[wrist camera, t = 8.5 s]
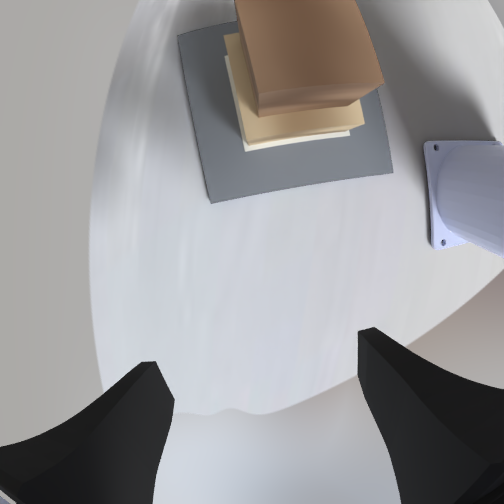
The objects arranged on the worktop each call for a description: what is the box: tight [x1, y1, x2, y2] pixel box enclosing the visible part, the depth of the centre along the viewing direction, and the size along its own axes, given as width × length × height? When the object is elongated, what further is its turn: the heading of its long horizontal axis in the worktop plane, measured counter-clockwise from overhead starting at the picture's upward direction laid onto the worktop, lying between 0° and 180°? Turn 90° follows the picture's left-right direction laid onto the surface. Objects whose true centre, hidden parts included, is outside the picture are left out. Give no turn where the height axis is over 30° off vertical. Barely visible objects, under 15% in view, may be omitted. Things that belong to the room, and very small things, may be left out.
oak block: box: [223, 33, 365, 146], centre depth 13 cm, size 6×6×4 cm
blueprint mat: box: [178, 21, 393, 204], centre depth 15 cm, size 12×12×1 cm
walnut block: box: [234, 0, 385, 118], centre depth 9 cm, size 4×4×4 cm
